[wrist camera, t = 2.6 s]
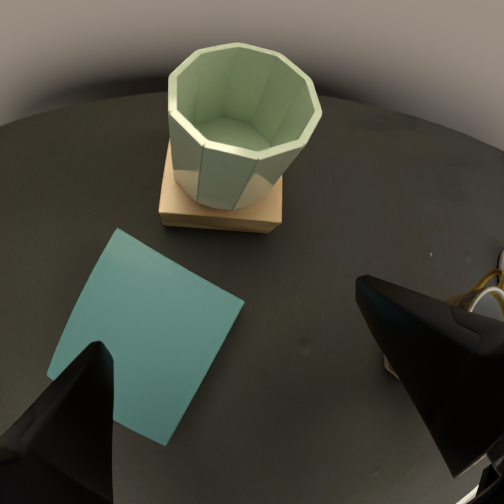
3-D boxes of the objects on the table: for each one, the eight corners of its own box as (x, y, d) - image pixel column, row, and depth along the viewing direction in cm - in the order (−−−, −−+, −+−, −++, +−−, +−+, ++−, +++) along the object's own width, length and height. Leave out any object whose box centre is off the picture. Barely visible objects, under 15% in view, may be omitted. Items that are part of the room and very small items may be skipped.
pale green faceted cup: (292, 148, 20) (338, 86, 13) (244, 231, 18) (280, 191, 11) (209, 103, 19) (223, 27, 12) (151, 178, 18) (133, 112, 10)
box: (234, 300, 21) (245, 301, 17) (168, 422, 18) (165, 446, 15) (129, 239, 20) (116, 227, 16) (67, 363, 17) (46, 375, 14)
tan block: (270, 143, 24) (282, 121, 20) (268, 233, 22) (282, 223, 19) (176, 133, 22) (175, 108, 19) (162, 225, 21) (157, 212, 17)
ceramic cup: (406, 407, 23) (479, 435, 13) (346, 364, 22) (430, 392, 12) (459, 304, 26) (529, 300, 16) (412, 247, 25) (492, 226, 16)
